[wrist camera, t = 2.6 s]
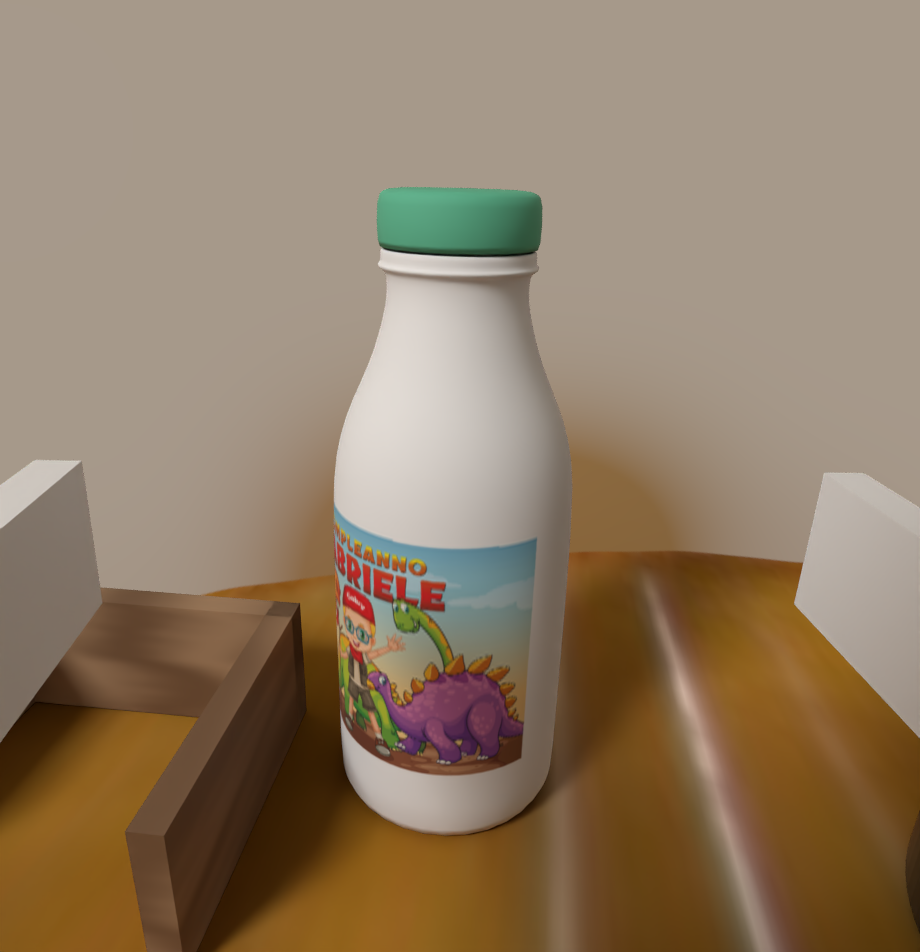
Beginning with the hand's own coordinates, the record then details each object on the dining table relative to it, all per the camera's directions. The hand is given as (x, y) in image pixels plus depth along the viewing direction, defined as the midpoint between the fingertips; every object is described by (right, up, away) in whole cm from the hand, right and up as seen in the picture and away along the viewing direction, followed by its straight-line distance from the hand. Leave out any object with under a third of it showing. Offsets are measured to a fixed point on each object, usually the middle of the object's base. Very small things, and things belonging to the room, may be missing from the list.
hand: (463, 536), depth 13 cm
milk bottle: (-1, -10, +15) cm, 18 cm away
